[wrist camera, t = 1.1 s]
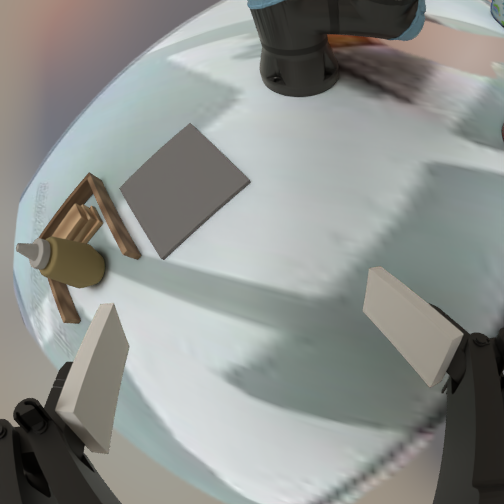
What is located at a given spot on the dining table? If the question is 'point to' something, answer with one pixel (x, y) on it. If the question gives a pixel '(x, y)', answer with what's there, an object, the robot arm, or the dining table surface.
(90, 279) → the squeeze bottle
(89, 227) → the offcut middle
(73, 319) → the walnut open frame
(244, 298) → the dining table surface
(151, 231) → the charcoal mat
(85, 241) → the offcut low
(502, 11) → the lunch box
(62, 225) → the offcut top
